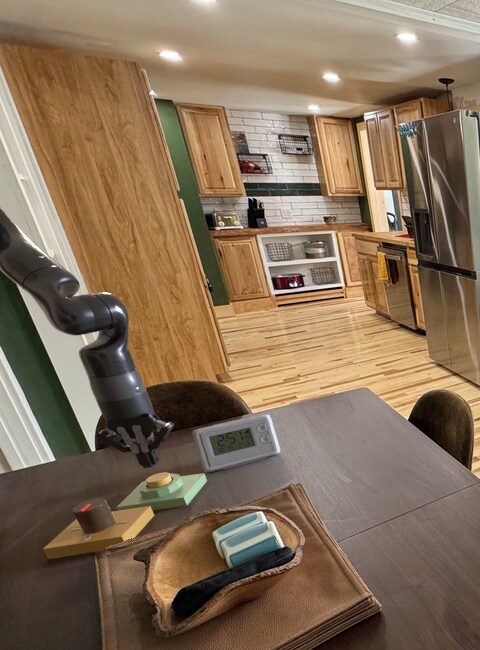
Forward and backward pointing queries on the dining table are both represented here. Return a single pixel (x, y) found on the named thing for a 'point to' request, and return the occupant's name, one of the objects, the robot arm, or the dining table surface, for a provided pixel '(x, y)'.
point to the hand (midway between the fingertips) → (150, 465)
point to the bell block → (165, 493)
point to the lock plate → (99, 534)
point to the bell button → (158, 480)
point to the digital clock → (236, 442)
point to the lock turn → (94, 515)
